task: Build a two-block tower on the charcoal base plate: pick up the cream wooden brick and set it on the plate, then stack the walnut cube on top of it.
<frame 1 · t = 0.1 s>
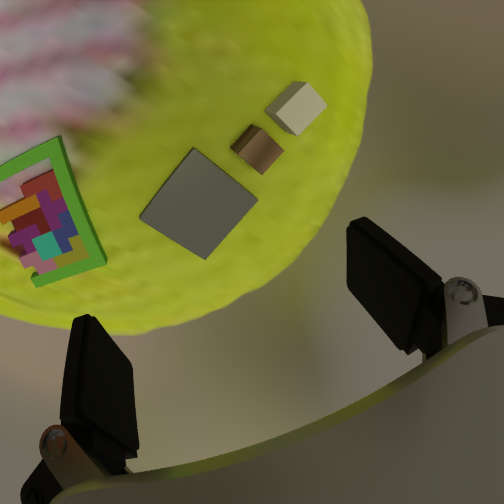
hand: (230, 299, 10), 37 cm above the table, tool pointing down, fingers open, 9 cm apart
base plate: (198, 206, 47), on the table
cream brick: (288, 106, 43), on the table
walnut cube: (251, 145, 45), on the table
toy blocks: (25, 223, 39), on the table
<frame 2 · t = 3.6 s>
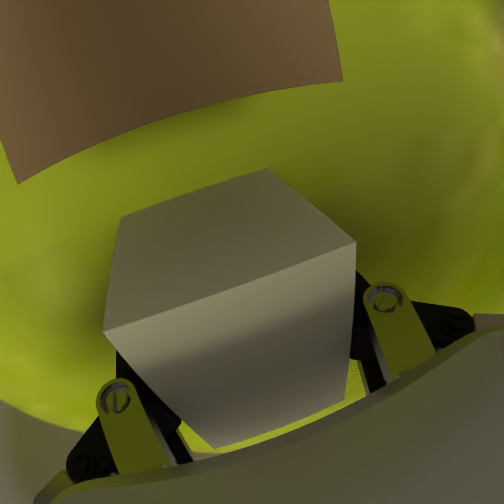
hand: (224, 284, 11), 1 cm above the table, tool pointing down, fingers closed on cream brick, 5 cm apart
cream brick: (221, 275, 11), on the table, touching gripper
walnut cube: (147, 27, 6), on the table
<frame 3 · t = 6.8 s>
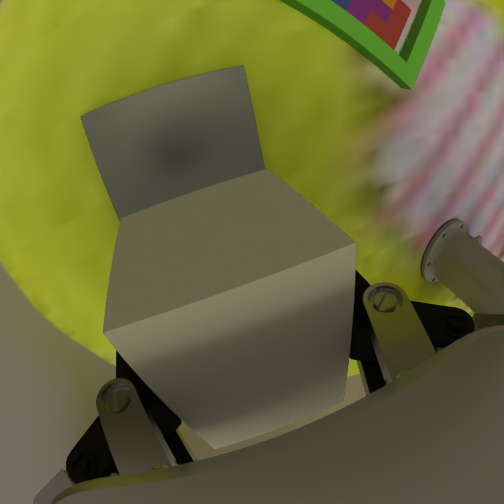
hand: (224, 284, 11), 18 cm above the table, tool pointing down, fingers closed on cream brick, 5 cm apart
base plate: (181, 159, 25), on the table
cream brick: (221, 275, 11), point 17 cm above the table, touching gripper
when the fingers open (3 cm above the table, at t = 10.0 s): cream brick drops 1 cm, resting on base plate.
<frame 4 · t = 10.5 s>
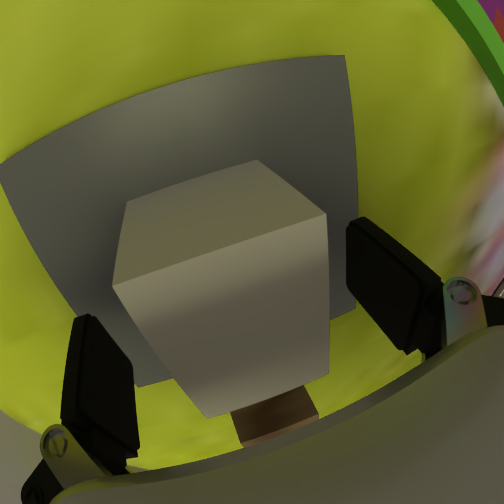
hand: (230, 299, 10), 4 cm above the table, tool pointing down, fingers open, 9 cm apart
base plate: (209, 244, 13), on the table
cream brick: (215, 256, 12), point 1 cm above the table, touching base plate
walnut cube: (260, 385, 21), on the table
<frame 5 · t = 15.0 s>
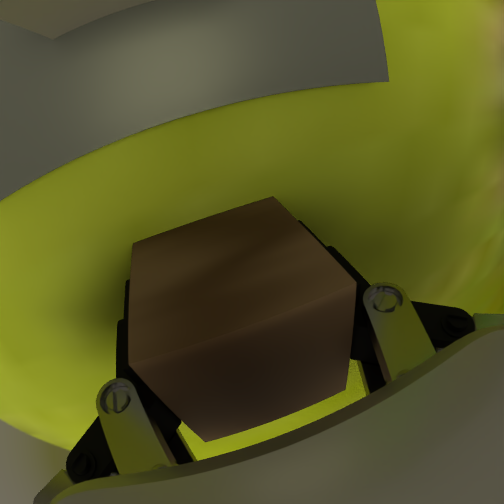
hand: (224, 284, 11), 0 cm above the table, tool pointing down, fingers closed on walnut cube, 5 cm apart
walnut cube: (221, 276, 11), on the table, touching gripper
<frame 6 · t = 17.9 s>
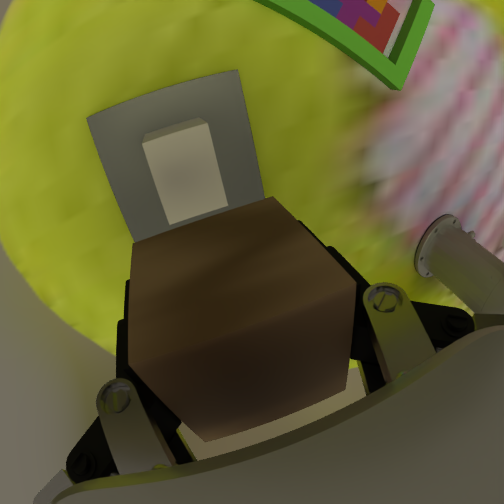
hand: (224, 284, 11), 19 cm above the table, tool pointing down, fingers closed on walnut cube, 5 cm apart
base plate: (180, 158, 26), on the table
cream brick: (181, 160, 25), point 1 cm above the table, touching base plate
walnut cube: (221, 276, 11), point 19 cm above the table, touching gripper
when the fingers open (8 cm above the table, at t = 21.0 s): walnut cube drops 1 cm, resting on cream brick.
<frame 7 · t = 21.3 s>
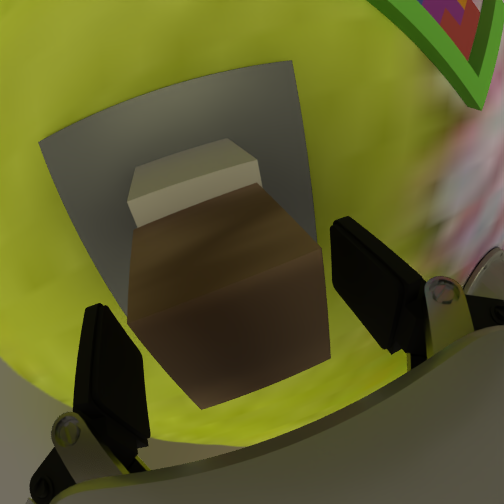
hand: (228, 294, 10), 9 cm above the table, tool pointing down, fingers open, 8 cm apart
base plate: (194, 203, 17), on the table
cream brick: (198, 209, 16), point 1 cm above the table, touching base plate, walnut cube
walnut cube: (214, 257, 12), point 6 cm above the table, touching cream brick
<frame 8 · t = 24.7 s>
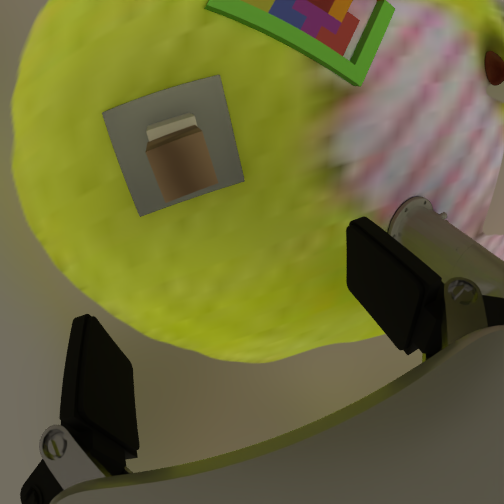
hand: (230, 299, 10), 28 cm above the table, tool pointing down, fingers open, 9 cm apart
base plate: (175, 144, 33), on the table
cream brick: (176, 146, 32), point 1 cm above the table, touching base plate, walnut cube
goblet: (491, 67, 38), on the table
walnut cube: (178, 155, 28), point 6 cm above the table, touching cream brick
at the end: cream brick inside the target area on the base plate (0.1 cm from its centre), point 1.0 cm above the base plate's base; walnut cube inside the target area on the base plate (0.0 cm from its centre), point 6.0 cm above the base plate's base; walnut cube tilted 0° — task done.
